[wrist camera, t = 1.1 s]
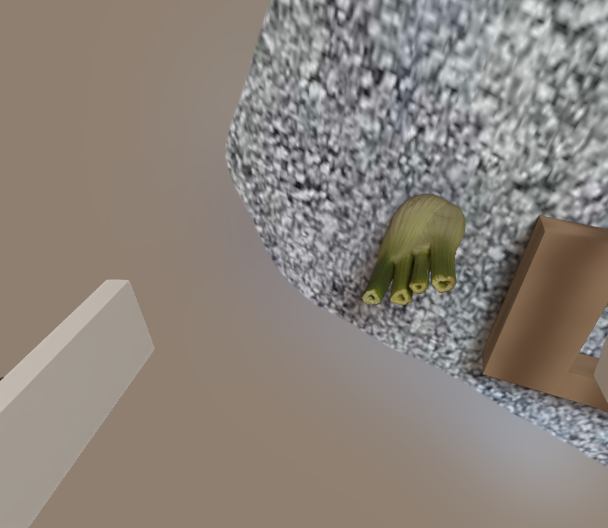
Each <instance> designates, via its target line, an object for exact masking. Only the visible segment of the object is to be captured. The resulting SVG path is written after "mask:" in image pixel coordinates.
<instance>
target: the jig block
mask: <svg viewBox="0 0 608 528" xmlns="http://www.w3.org/2000/svg"><path fill="white" fill-rule="evenodd" d="M607 304H608V229H604V228H599V227H594V226H589V225H584V224H579V223H574V222H570V221H565V220H560V219H555V218H550V217H545V216H539V218H538V221H537V223H536V226H535V228H534V230H533V233H532V235H531V237H530V240H529V242H528V245H527V247H526V249H525V252H524V254H523V257H522V259H521V261H520V264H519V266H518V268H517V271H516V273H515V276H514V278H513V280H512V283H511V285H510V287H509V290H508V292H507V295H506V297H505V299H504V302H503V304H502V307H501V309H500V311H499V314H498V316H497V318H496V321H495V323H494V326H493V328H492V330H491V333H490V335H489V337H488V340H487V342H486V345H485V347H484V349H483V352H482V359H483V374H484V375H487V376H491V377H494V378H497V379H501V380H504V381H508V382H511V383H514V384H518V385H521V386H524V387H528V388H531V389H535V390H538V391H541V392H545V393H548V394H551V395H555V396H558V397H562V398H565V399H568V400H572V401H575V402H578V403H582V404H585V405H588V406H592V407H595V408H599V409H602V410H605V411H608V403H607V401H606V399H605V397H604V395H603V393H602V391H601V389H600V387H599V385H598V383H597V382H596V380H595V378H594V376H593V375H594V373H595V370H596V367H597V364H598V361H599V358H595V357H592V356H588V355H584V354H581V353H579V352H580V350H581V348H582V347H583V345H584V343H585V341H586V340H587V338H588V336H589V335H590V333H591V331H592V329H593V328H594V326H595V324H596V323H597V321H598V319H599V317H600V316H601V314H602V312H603V310H604V309H605V307H606V305H607Z"/></svg>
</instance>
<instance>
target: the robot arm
mask: <svg viewBox="0 0 608 528" xmlns="http://www.w3.org/2000/svg"><path fill="white" fill-rule="evenodd" d="M154 349H155V348H154V345H153V343H152V340H151V338H150V335H149V332H148V329H147V327H146V324H145V321H144V319H143V316H142V313H141V311H140V308H139V305H138V303H137V300H136V297H135V294H134V292H133V289H132V286H131V284H130V281H129V280H106V281H105V282H104V283H103V284H102V285H101V286H100V287H99V288H98V289H97V290H96V291H95V292H94V293H93V294H91V295H90V296H89V297H88V298H87V299H86V300H85V301H84V302H83V303H82V304H81V305H80V306H79V307H78V308H77V309H76V310H75V311H74V312H73V313H71V314H70V315H69V316H68V317H67V318H66V319H65V320H64V321H63V322H62V323H61V324H60V325H59V326H58V327H57V328H56V329H55V330H54V331H52V332H51V333H50V335H48V336H47V337H46V338H45V339H44V340H43V341H42V342H41V343H40V344H39V345H38V346H37V347H36V348H35V349H34V350H32V351H31V352H30V353H29V354H28V355H27V356H26V357H25V358H24V359H23V360H22V361H21V362H20V363H19V364H18V365H17V366H16V367H15V368H14V369H12V370H11V371H10V372H9V374H7V375H6V376H5V377H2V378H0V528H28V527H29V526H30V525H31V523H32V522H33V520H34V519H35V518H36V516H37V515H38V513H39V512H40V510H41V509H42V508H43V506H44V505H45V503H46V502H47V500H48V499H49V498H50V496H51V495H52V493H53V492H54V491H55V489H56V488H57V486H58V485H59V484H60V482H61V481H62V479H63V478H64V476H65V475H66V474H67V472H68V471H69V469H70V468H71V467H72V465H73V464H74V462H75V461H76V459H77V458H78V457H79V455H80V454H81V452H82V451H83V450H84V448H85V447H86V445H87V444H88V443H89V441H90V440H91V438H92V437H93V435H94V434H95V433H96V431H97V430H98V428H99V427H100V426H101V424H102V423H103V421H104V420H105V418H106V417H107V416H108V414H109V413H110V411H111V410H112V409H113V407H114V406H115V404H116V403H117V401H118V400H119V399H120V397H121V396H122V394H123V393H124V392H125V390H126V389H127V387H128V386H129V384H130V383H131V382H132V380H133V379H134V377H135V376H136V375H137V373H138V372H139V370H140V369H141V368H142V366H143V365H144V363H145V362H146V360H147V359H148V358H149V356H150V355H151V353H152V352H153V351H154ZM593 376H594V378H595V380H596V382H597V383H598V385H599V387H600V389H601V391H602V393H603V395H604V397H605V399H606V401H607V403H608V335H607V338H606V340H605V343H604V346H603V349H602V352H601V355H600V358H599V361H598V364H597V367H596V370H595V373H594V375H593Z"/></svg>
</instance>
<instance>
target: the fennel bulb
mask: <svg viewBox="0 0 608 528" xmlns="http://www.w3.org/2000/svg"><path fill="white" fill-rule="evenodd" d="M464 232H465V218H464V215H463V213H462V210H461V209H460V208H459V207H457V206H456V205H454V204H452V203H450V202H448V201H447V200H445V199H444V198H442V197H440V196H437V195H434V194H421V195H418V196H415V197H412V198H410V199H408V200H407V201H405V202H404V203H403V204H402V205H401V206H400V207H399V208H398V210H397V211H396V213H395V215H394V217H393V219H392V221H391V223H390V225H389V228H388V230H387V232H386V234H385V236H384V239H383V241H382V244H381V247H380V250H379V254H378V260H377V264H376V267H375V270H374V272H373V275H372V277H371V279H370V281H369V283H368V285H367V288H366V289H365V291H364V293H363V295H362V300H363V302H364V303H366V304H372V305H377V304H380V303H381V302H382V299H383V297H384V294H385V293H386V291H387V289H388V287H389V285H390V283H391V281H392V279H393V282H392V288H391V295H390V301H391V302H392V303H396V304H400V305H406V304H408V303H410V302H411V301H412V296H413V295H412V294H413V292H414V293H416V294H422V293H423V292H425V290H426V289H427V287H428V283H429V273H430V271H431V281H432V285H433V286H434V287H435V289H436V290H437V291H438V292H439V293H443V292H446V291H447V292H449V291H450V290H451V289H452V288H453V287H454V285H455V284H456V282H457V281H456V274H455V255H456V250H457V248H458V246H459V245H460V243H461V241H462V238H463V236H464Z"/></svg>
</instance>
